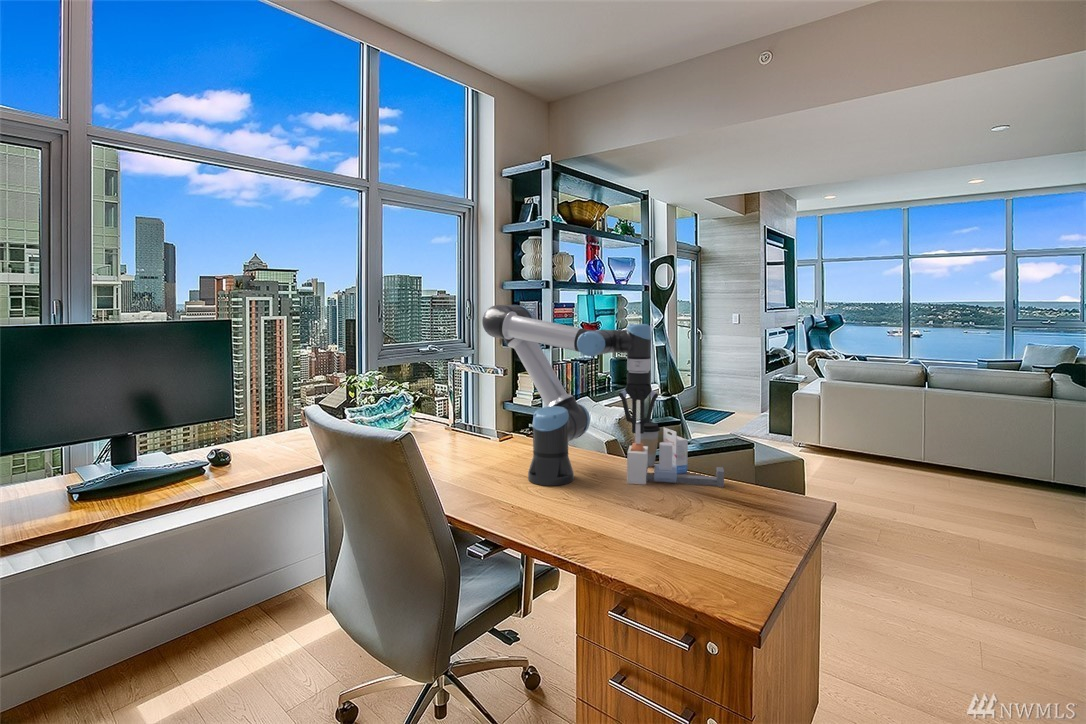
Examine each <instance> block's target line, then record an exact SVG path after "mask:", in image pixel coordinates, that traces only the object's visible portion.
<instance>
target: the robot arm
mask: <svg viewBox="0 0 1086 724" xmlns="http://www.w3.org/2000/svg"><path fill="white" fill-rule="evenodd" d="M483 313H484V314H483V316H482V320H481V321H482V327H483V329H484V332H486V333H487V335H488V336H491V337H493V338H496V339H504V341H505V343H506V345H507V347H509V348H511V349H514V351H515V352H516V354H517V356H518V358H519V360H520V362H521V363H522V365H523V367H524V368H525V370H526V372H527V374H528V376H529V378H530V380H531V381H532V383H533V385H534V387H535V388H536V390H537V392H538V394H539V396H540V397H541V400H542V401H543V403H544V405H545V407H541V408H539V409H536V410H535V412H533V416H532V417H533V419H532V443H533V444H532V453H533V454H532V459H531V462H530V464H529V468H528V471H527V479H528V481H529V482H530V483H532V484H535V485H540V486H549V487H550V486H552V487H553V486H554V487H555V486H562V485H566V484H570V483H572V482H573V481H574V477H575V476H574V474H575V473H574V469H573V467H572V463H571V460H570V457H569V442H570V441H574V440H575V439H579V438H580V437H582V436H583V435H584V434H586V432H587V431H588V430H589V427H590V423H591V416H590V413H589V411H588V409H587V408H586V407H585V406H583V404H580V403H578V401H577V400H576V398H575V397H574V395H572V394H568V393H567V392H566V389H565V388H564V386H563V384H562V383H561V381H560V379H559V376H558V375H557V373H556V371H555V370H554V369H553V366H551V364H550V363H551V362H550V361H549V359H548V358H547V356H546V355H545V353H544V350H543V349H542V347H541V345H540V344H542V345H547V346H551V347H555V348H559V349H565V350H569V351H575V352H577V353H581V354H582V355H583V356H586V357H596V356H598V355H605V354H610V353H612V354H613V353H615V354H616V353H618V354H619V353H623V354H627V355H626V360H627V361H626V370H627V371H628V372H626V387H625V388H624V390H622V391H619V393H618V396H619V398H620V399H621V402H622V406H623V410H624V415H625V418H626V420H625V421H626V422H627V423H631V432H632V434H635V433H636V434H635V442H634V443H635V444H640V441H641V434H643V433H644V424H645V423H647V422H651V417H652V412H653V409H654V405H655V403H656V402H655V401H656V400H657V398H659V393H658V392H655V391H654V390H653V387H652V386H651V372H650V371H651V368H652V367H651V361H652V359H651V354H652V353H651V351H652V350H651V349H652V333H651V325H649V324H646V323H630V324H627V326H626V327H627V328H626V329H623V330H621V329H596V330H592V329H587V328H582V327H576V326H573V325H568V324H567V325H566V324H561V323H556V322H551V321H545V320H541V319H537V318H535V317H534V315H533V313H532V311H531V310H529V308H527V307H526V306H522V305H520V304H519V305H518V304H508V305H507V304H505V305H504V304H496V305H492V306H490V307H488V308H487V309H486V311H485V312H483ZM627 395H628V396H629V398H630V399H631V406H632V407H631V409H632V411H631V413H630V410H629V403H628V401H627V400H628V399H627V398H626V397H627ZM649 395H650V398H651V400H650V403H649V407H648V411H647V414H646V418H645V400H646V399H647V398H648V397H649ZM637 401H640V404H639V408H640V409H639V410H640V413H639V422H640V423H637V403H638V402H637Z"/></svg>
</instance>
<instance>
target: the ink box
mask: <svg viewBox="0 0 1086 724" xmlns="http://www.w3.org/2000/svg"><path fill="white" fill-rule="evenodd" d="M662 432H663V436H662V442H663V443H672V465H677V475H682V474H687V473H688V453H689V451H688V448H689V447H688V443H689V440H688V438H687V439H686V438H683V437H681V436H678V435H677V434H678V432H677V431H675V430H672V429H671V428H667V427H665V426H663V431H662Z"/></svg>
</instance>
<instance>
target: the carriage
mask: <svg viewBox="0 0 1086 724" xmlns="http://www.w3.org/2000/svg"><path fill="white" fill-rule="evenodd" d="M658 449H659V450H658V451H659V452H658V453H659V455H658V459H659V461H658V463H655V465H654V470H653V473H654V481H664V482H663V483H666V482H676V479H677V475H678V474H677V465H672V443H663V441H662V442H659V448H658Z"/></svg>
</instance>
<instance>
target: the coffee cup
mask: <svg viewBox="0 0 1086 724" xmlns="http://www.w3.org/2000/svg"><path fill="white" fill-rule="evenodd" d="M636 423H640V421H638V422H637V421H636ZM660 431H661V427H660V426H659V424H658V423H656V422H654V421H649V422H647V423H645V424H644V433H643V434H641V441H640V443H643V446H648V468H649V467H651V468H652V467H655V464H656V455H657V452H658V451H657V449H658V443H659V432H660ZM634 434H636V433H634Z"/></svg>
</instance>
